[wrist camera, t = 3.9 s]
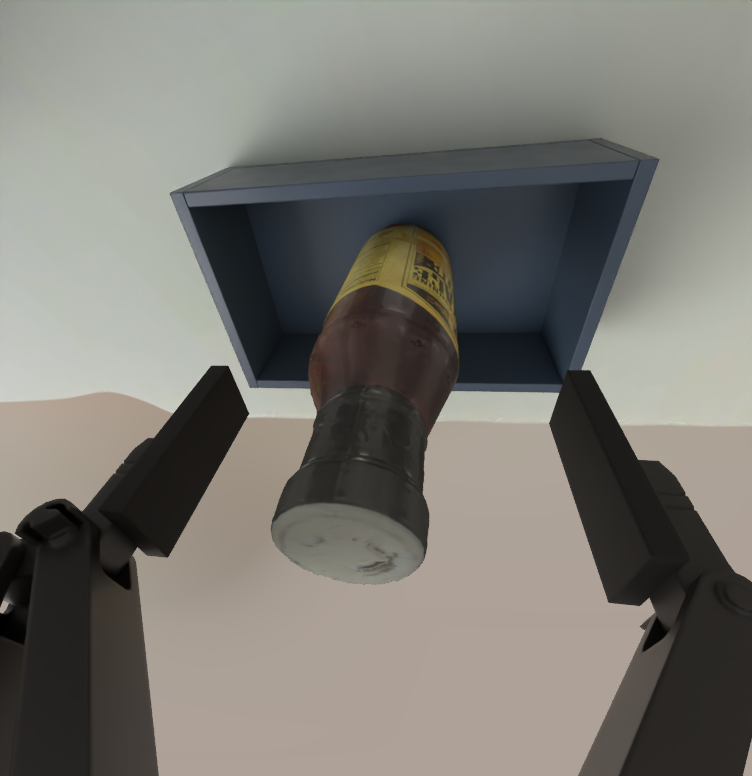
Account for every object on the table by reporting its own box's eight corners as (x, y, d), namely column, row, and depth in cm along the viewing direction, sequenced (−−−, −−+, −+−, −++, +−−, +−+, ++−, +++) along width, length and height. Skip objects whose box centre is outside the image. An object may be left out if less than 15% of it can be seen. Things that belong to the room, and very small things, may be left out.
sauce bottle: (457, 296, 25) (493, 613, 10) (374, 314, 27) (301, 607, 12) (440, 198, 21) (458, 480, 6) (343, 227, 23) (179, 501, 8)
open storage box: (278, 338, 30) (249, 388, 25) (226, 167, 22) (169, 193, 17) (547, 337, 27) (572, 393, 22) (602, 138, 19) (660, 158, 14)
